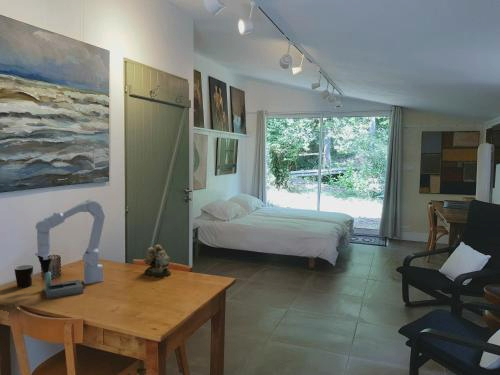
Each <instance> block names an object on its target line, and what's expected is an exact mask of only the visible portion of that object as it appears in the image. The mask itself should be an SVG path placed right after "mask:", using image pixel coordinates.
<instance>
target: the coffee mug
mask: <svg viewBox="0 0 500 375" xmlns="http://www.w3.org/2000/svg"><path fill="white" fill-rule="evenodd" d="M14 274H15V279H16V280H15V282H16V285H17V288H19V289H25V288H29V287H31V286H32V284H33V274H34V265H33V264H24V265H23V264H22V265H18V266H15V267H14Z"/></svg>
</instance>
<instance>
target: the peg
mask: <svg viewBox="0 0 500 375" xmlns="http://www.w3.org/2000/svg"><path fill="white" fill-rule="evenodd" d="M44 274H45V285H48V284H52V272H51V271H48V272H47V273H44ZM42 290H43V291H44V292H45V286H44V287H43V288H42Z"/></svg>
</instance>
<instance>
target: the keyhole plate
mask: <svg viewBox="0 0 500 375" xmlns="http://www.w3.org/2000/svg"><path fill="white" fill-rule="evenodd" d="M44 287H45V291H44V294H45V295H46V299H47V300H50V299H56V298H61V297H67V296H73V295H79V294H84V285H83V284H82V282H81V280H80V279H75V280H68V281H61V282H55V283H51V284H48V285H46V284H44Z"/></svg>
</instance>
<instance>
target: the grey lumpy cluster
mask: <svg viewBox="0 0 500 375" xmlns="http://www.w3.org/2000/svg"><path fill="white" fill-rule="evenodd" d="M143 262H144V263H145V264H146V265H148V267H147V268H146V269H145V270H144V275H145V274H146V275H145V276H148V277H151V276H154V277H153V278H164V276H167V277H169V276H168V275H170V274H171V275H172V271H171V270H169V265H170V256H168V254H167V253H166V250H165V249H163V247H162V245H161V244H156V245H154V246H153V247H152V246H151V247H148V248H147V253H146V256H145V259H143ZM171 275H170V276H171Z"/></svg>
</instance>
